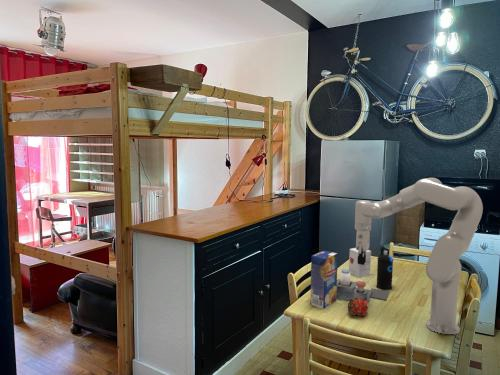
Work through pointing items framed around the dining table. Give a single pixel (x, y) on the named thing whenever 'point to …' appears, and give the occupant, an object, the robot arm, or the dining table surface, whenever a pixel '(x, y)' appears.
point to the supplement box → (358, 268)
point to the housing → (351, 292)
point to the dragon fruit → (358, 306)
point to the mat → (380, 294)
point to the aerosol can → (384, 272)
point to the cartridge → (345, 277)
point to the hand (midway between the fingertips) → (361, 263)
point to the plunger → (360, 286)
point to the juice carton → (323, 279)
